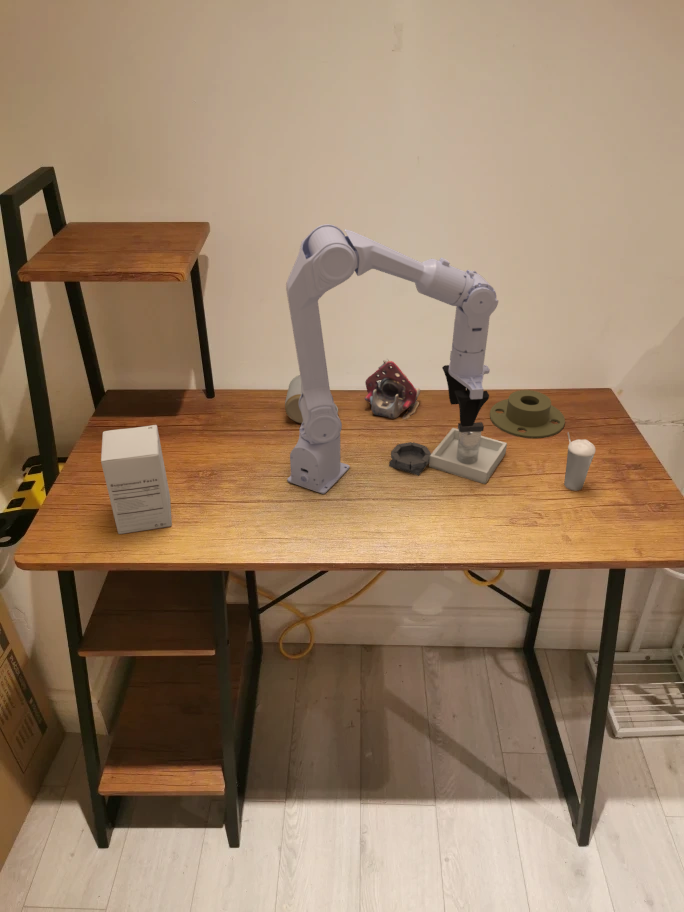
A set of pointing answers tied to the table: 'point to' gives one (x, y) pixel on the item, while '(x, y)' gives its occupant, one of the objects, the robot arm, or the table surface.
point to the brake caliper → (391, 392)
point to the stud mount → (410, 457)
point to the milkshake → (578, 463)
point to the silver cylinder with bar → (469, 443)
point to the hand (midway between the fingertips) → (461, 414)
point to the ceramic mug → (295, 400)
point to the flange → (527, 415)
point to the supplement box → (136, 479)
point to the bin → (478, 472)
